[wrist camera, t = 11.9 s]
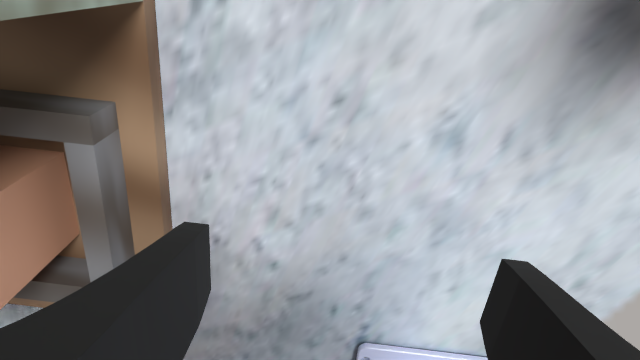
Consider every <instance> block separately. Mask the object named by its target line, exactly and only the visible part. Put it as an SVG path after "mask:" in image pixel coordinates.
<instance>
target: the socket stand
mask: <svg viewBox="0 0 640 360" xmlns="http://www.w3.org/2000/svg"><path fill="white" fill-rule="evenodd" d="M0 145H4V146H13V147H22V148H31V149H40V150H49V151H58V152H64V156H65V161H66V166H67V171H68V176H69V181H70V186H71V191H72V196H73V201H74V206H75V212H76V217H77V222H78V227H79V232H80V234H79V235H78V236H77V237H76V238H75V239H73V240H72V241H71V242H70V243H69V244H68V245H67V246H66V247H65V248H64V249H63V250H62V251H61V252H60V253H59V254H58V255H57V256H56V257H55V258H54V259H53V260H52V261H51V262H50V263H48V264H47V265H46V266H45V267H44V268H43V269H42V270H41V271H40V272H39V273H38V274H37V275H36V276H35V277H34V278H33V279H32V280H31V281H30V282H29V283H28V284H27V285H26V286H24V287H23V288H22V289H21V290H20V291H19V292H18V293H17V294H16V295H15V296H14V297H13V298H12V299H11V300H10V301H9V302H8V303H9V304H18V305H26V306H34V307H42V308H45V307H47V306H49V305H51V304H53V303H55V302H57V301H59V300H61V299H63V298H65V297H66V296H68V295H70V294H72V293H74V292H75V291H77V290H79V289H81V288H82V287H84V286H86V285H87V284H89V283H91V282H92V281H94V280H96V279H97V278H99V277H101V276H102V275H104V274H106V273H107V272H109V271H111V270H112V269H114V268H116V267H117V266H119V265H121V264H122V263H124V262H125V261H127V260H128V259H130V258H131V257H133V256H134V255H136V254H137V253H139V252H140V251H142V250H143V249H145V248H146V247H148V246H149V245H151V244H152V243H154V242H155V241H157V240H158V239H160V238H161V237H162V236H164V235H165V234H167V233H168V232H170V231H171V230H172V220H171V207H170V194H169V181H168V168H167V155H166V142H165V129H164V116H163V103H162V90H161V77H160V64H159V51H158V38H157V25H156V12H155V0H0Z"/></svg>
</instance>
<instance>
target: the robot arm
mask: <svg viewBox="0 0 640 360" xmlns="http://www.w3.org/2000/svg"><path fill="white" fill-rule="evenodd" d="M210 291H211V276H210V244H209V225H208V224H199V223H190V222H184V223H182V224H180V225H179V226H177V227H176V228H174V229H173V230H171V231H170V232H168V233H167V234H165V235H164V236H162V237H161V238H160V239H158V240H157V241H155V242H154V243H152V244H151V245H149V246H148V247H146V248H145V249H143V250H142V251H140V252H139V253H137V254H136V255H134V256H133V257H131V258H130V259H128V260H127V261H125V262H124V263H122V264H121V265H119V266H117V267H116V268H114V269H112V270H111V271H109V272H107V273H106V274H104V275H102V276H101V277H99V278H97V279H96V280H94V281H92V282H91V283H89V284H87V285H86V286H84V287H82V288H81V289H79V290H77V291H75V292H74V293H72V294H70V295H68V296H66V297H65V298H63V299H61V300H59V301H57V302H55V303H53V304H51V305H49V306H47V307H45V308H43V309H41V310H39V311H37V312H35V313H33V314H31V315H29V316H27V317H25V318H23V319H21V320H19V321H16V322H14V323H12V324H10V325H7V326H5V327H3V328H0V360H183V358H184V356H185V354H186V352H187V350H188V348H189V346H190V343H191V341H192V339H193V337H194V335H195V333H196V331H197V329H198V326H199V324H200V321H201V318H202V315H203V312H204V309H205V306H206V303H207V300H208V297H209V294H210ZM480 325H481V330H482V335H483V340H484V345H485V349H486V354H487V357H479V356H471V355H463V354H454V353H446V352H438V351H430V350H421V349H413V348H405V347H397V346H388V345H380V344H372V343H364V344H361V345H360V346H359V348H358V352H357V358H356V360H640V351H639V350H638V349H637V348H635V347H633V346H632V345H631V344H630V343H628V342H627V341H626V340H625V339H623V338H622V337H620V336H619V335H618V334H617V333H616V332H614V331H613V330H612V329H610V328H609V327H608V326H607V325H605V324H604V323H603V322H602V321H600V320H599V319H598V318H597V317H596V316H594V315H593V314H592V313H591V312H589V311H588V310H587V309H586V308H584V307H583V306H582V305H581V304H580V303H578V302H577V301H576V300H575V299H574V298H572V297H571V296H570V295H569V294H568V293H566V292H565V291H564V290H563V289H562V288H560V287H559V286H558V285H557V284H555V283H554V282H553V281H552V280H551V279H549V278H548V277H547V276H546V275H544V274H543V273H542V272H541V271H539V270H538V269H537V268H535V267H534V266H533V265H531V264H530V263H528V262H525V261H517V260H508V259H502V260H501V263H500V266H499V268H498V271H497V274H496V277H495V280H494V283H493V286H492V288H491V291H490V294H489V297H488V300H487V303H486V305H485V308H484V311H483V314H482V317H481V320H480ZM364 357H368V358H364Z"/></svg>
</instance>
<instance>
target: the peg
mask: <svg viewBox="0 0 640 360" xmlns="http://www.w3.org/2000/svg"><path fill="white" fill-rule="evenodd" d="M79 234H80V232H79V227H78V222H77V217H76V212H75V206H74V201H73V196H72V191H71V186H70V181H69V176H68V171H67V166H66V161H65V156H64V152H58V151H49V150H40V149H31V148H22V147H13V146H4V145H0V310H1V309H2V308H3V307H4V306H5V305H6V304H7V303H8V302H9V301H10V300H11V299H12V298H13V297H14V296H15V295H16V294H17V293H18V292H19V291H20V290H21V289H22V288H23V287H24V286H26V285H27V284H28V283H29V282H30V281H31V280H32V279H33V278H34V277H35V276H36V275H37V274H38V273H39V272H40V271H41V270H42V269H43V268H44V267H45V266H46V265H47V264H48V263H50V262H51V261H52V260H53V259H54V258H55V257H56V256H57V255H58V254H59V253H60V252H61V251H62V250H63V249H64V248H65V247H66V246H67V245H68V244H69V243H70V242H71V241H72V240H73V239H75V238H76V237H77V236H78V235H79Z"/></svg>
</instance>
